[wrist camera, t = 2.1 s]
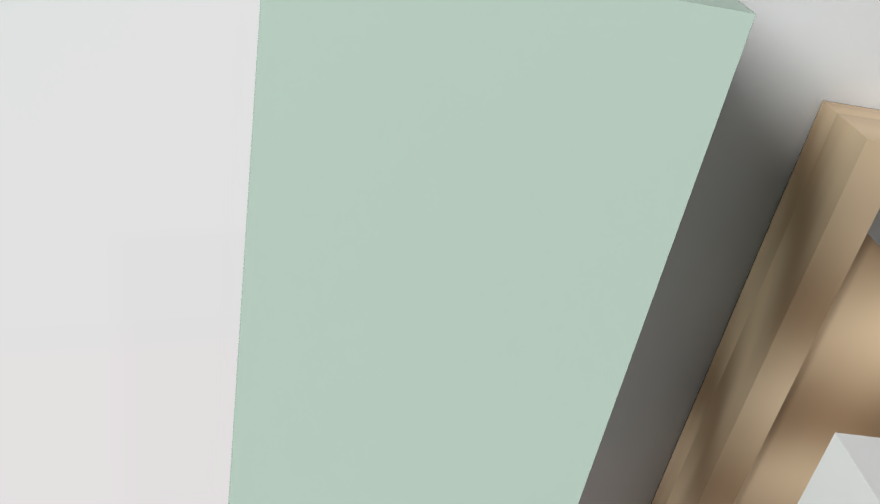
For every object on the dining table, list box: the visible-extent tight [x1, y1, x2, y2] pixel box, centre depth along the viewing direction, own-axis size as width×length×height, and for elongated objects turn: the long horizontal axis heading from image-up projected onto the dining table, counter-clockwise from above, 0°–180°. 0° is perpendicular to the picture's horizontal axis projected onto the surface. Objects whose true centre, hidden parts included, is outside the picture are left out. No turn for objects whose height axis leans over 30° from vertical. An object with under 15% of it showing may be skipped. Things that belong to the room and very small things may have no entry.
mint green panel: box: [228, 0, 756, 504], centre depth 15 cm, size 14×4×12 cm, turn 170°
